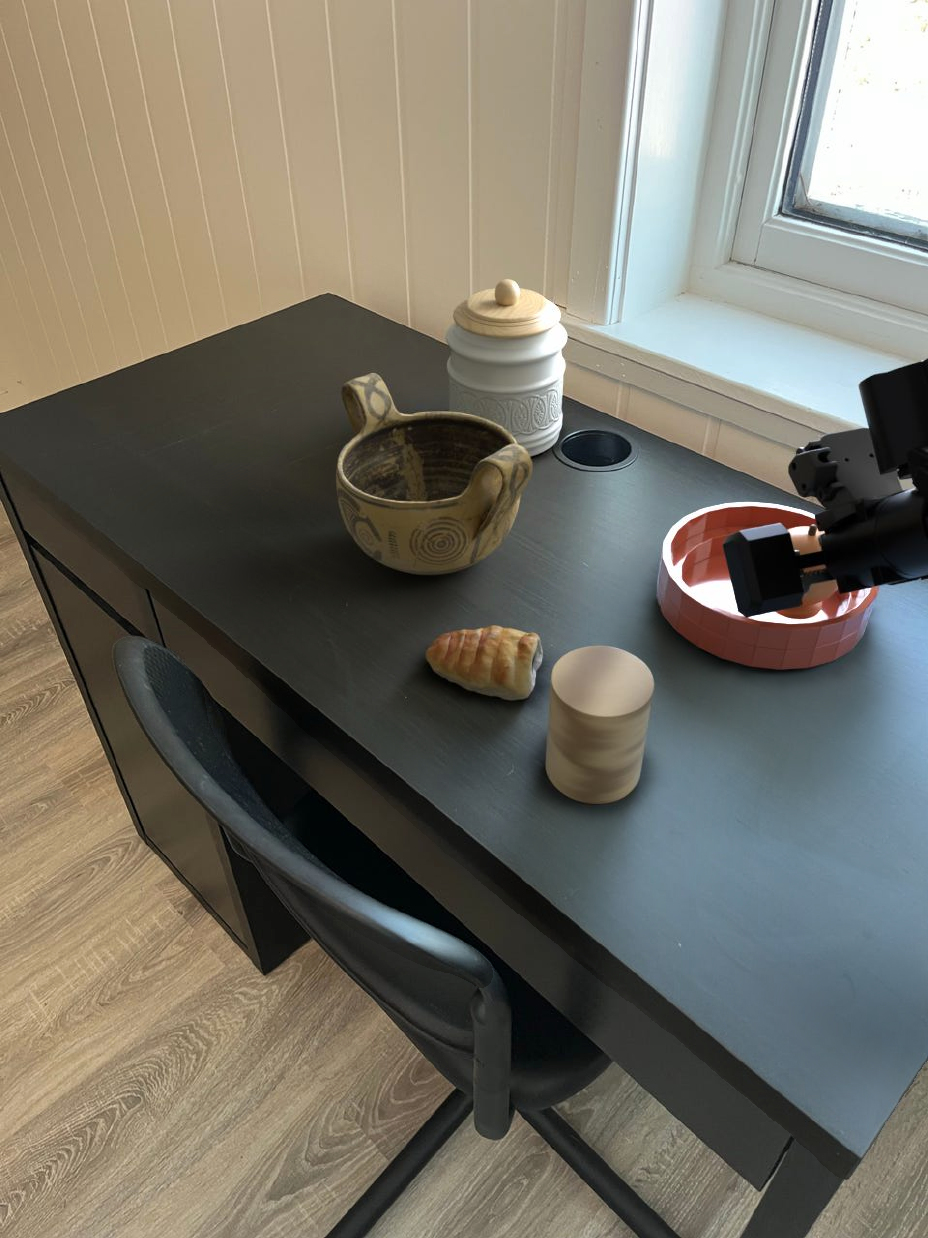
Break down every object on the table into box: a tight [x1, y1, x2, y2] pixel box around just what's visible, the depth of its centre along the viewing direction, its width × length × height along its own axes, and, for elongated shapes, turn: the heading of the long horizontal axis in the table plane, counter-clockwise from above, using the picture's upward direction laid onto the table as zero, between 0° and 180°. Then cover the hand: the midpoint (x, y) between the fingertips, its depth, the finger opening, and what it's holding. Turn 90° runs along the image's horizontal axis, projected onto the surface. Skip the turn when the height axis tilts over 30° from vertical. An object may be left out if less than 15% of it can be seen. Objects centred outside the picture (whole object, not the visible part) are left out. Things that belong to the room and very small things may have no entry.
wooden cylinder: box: [545, 645, 655, 805], centre depth 67 cm, size 7×7×9 cm
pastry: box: [425, 624, 544, 701], centre depth 77 cm, size 9×7×4 cm
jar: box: [445, 278, 568, 457], centre depth 103 cm, size 13×13×18 cm
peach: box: [776, 525, 838, 619], centre depth 76 cm, size 6×6×8 cm
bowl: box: [656, 501, 880, 671], centre depth 83 cm, size 18×18×5 cm
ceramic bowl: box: [335, 372, 534, 576], centre depth 86 cm, size 22×17×15 cm
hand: (790, 570), depth 78 cm, fingers closed on peach, 6 cm apart
